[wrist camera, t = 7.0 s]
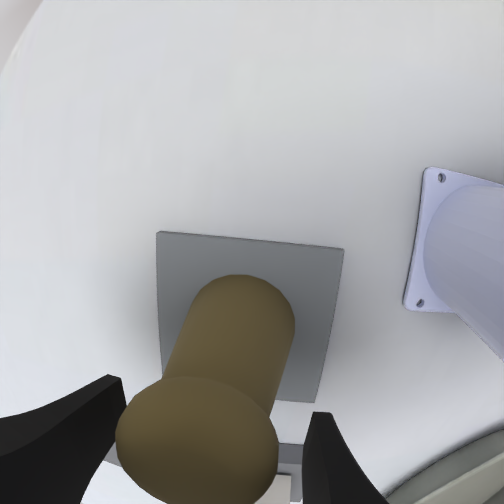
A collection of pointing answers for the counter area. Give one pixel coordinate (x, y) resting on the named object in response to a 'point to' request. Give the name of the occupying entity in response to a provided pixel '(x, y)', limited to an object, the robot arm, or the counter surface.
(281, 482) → the switch tab
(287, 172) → the counter surface
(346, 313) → the counter surface
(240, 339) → the cork
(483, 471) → the cake pan
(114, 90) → the counter surface
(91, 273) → the counter surface
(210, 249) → the slate mat
